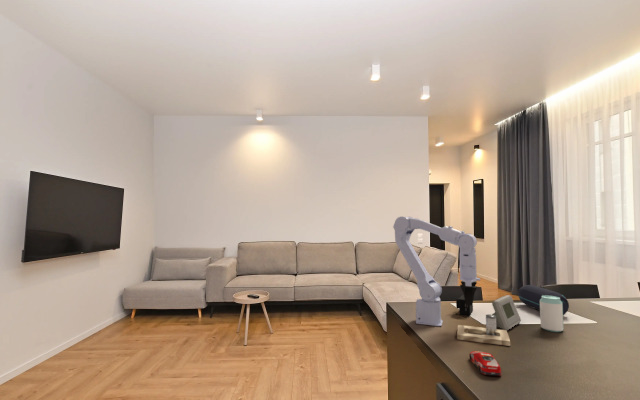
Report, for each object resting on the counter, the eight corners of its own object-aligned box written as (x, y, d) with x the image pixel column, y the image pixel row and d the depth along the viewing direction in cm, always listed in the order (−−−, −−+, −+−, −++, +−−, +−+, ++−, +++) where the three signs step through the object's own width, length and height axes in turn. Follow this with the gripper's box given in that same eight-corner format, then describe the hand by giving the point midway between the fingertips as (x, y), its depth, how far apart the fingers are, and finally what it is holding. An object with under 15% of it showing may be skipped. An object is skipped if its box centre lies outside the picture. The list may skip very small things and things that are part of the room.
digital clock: (506, 332, 123) (505, 303, 124) (482, 326, 130) (482, 298, 131) (529, 325, 131) (528, 297, 132) (506, 319, 139) (505, 293, 140)
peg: (487, 339, 116) (486, 316, 117) (485, 335, 119) (485, 314, 120) (497, 340, 115) (496, 317, 116) (495, 337, 118) (495, 314, 119)
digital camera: (460, 309, 155) (459, 294, 156) (473, 311, 152) (472, 295, 153) (456, 315, 146) (455, 298, 147) (470, 316, 143) (469, 300, 144)
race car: (467, 357, 101) (467, 344, 101) (486, 359, 100) (486, 345, 101) (481, 377, 88) (481, 362, 88) (504, 379, 87) (503, 363, 88)
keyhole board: (457, 339, 116) (457, 334, 116) (458, 328, 127) (458, 324, 127) (510, 346, 110) (510, 341, 110) (506, 334, 121) (506, 330, 121)
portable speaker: (574, 318, 140) (573, 294, 141) (550, 318, 140) (549, 294, 141) (536, 304, 165) (535, 283, 166) (515, 304, 165) (515, 283, 166)
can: (539, 329, 126) (537, 297, 127) (542, 325, 131) (541, 294, 132) (562, 334, 121) (560, 300, 122) (565, 329, 126) (563, 296, 127)
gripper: (480, 269, 120) (481, 308, 119) (479, 264, 133) (480, 299, 132) (458, 268, 122) (459, 306, 122) (459, 263, 136) (460, 297, 135)
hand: (469, 302), depth 127 cm, fingers open, 7 cm apart
